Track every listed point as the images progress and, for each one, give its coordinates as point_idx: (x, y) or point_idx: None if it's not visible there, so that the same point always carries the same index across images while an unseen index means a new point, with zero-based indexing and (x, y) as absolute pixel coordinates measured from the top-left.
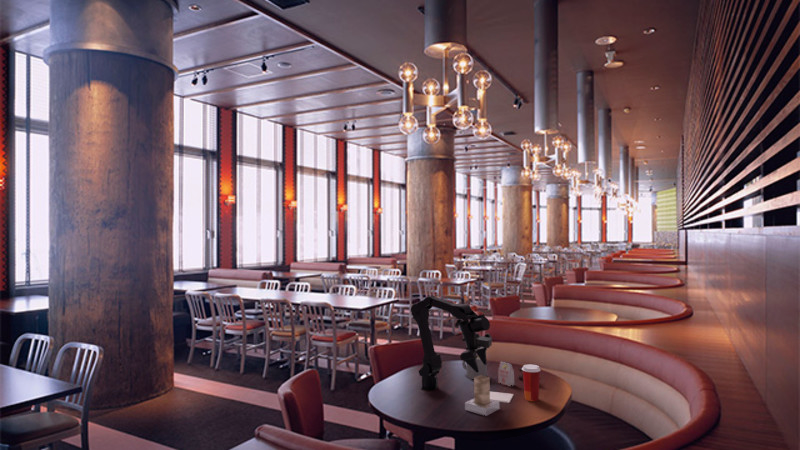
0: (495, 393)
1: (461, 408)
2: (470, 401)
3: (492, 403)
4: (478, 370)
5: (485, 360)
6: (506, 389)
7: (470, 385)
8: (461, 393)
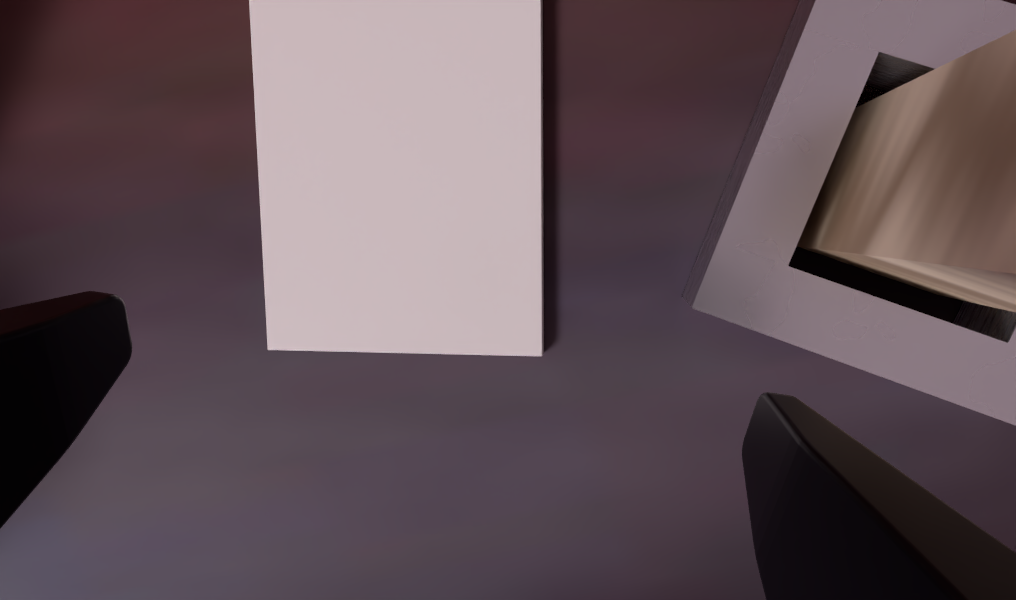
0: (307, 167)
1: (941, 460)
2: (974, 369)
3: (962, 31)
4: (797, 409)
5: (18, 344)
6: (87, 88)
7: (123, 517)
8: (415, 563)
